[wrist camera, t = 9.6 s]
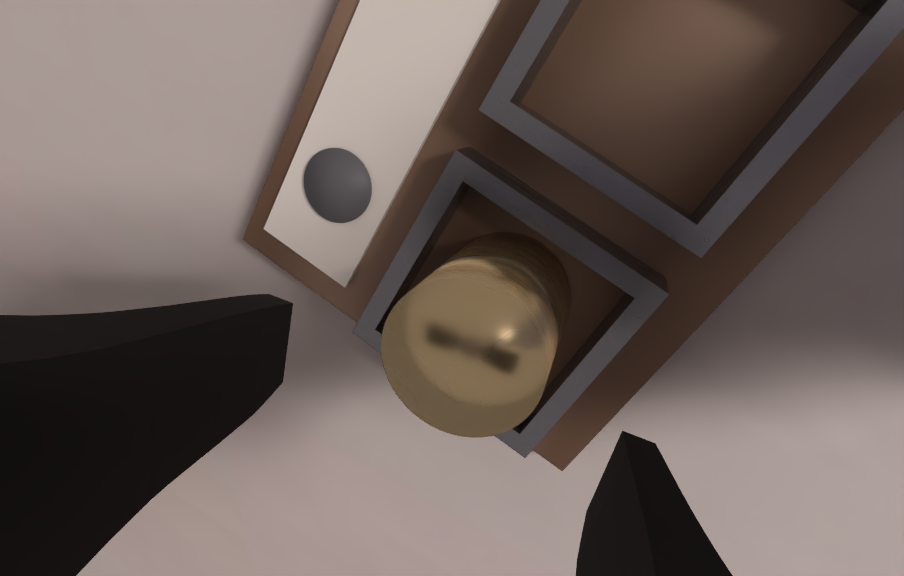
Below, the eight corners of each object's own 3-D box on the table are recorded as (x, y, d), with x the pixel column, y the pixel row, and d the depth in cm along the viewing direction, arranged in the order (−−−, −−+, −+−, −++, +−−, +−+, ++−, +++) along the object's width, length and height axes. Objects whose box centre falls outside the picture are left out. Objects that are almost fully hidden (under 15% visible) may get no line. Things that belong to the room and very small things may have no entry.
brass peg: (589, 255, 16) (570, 314, 11) (548, 369, 17) (517, 462, 13) (462, 215, 16) (398, 255, 12) (434, 326, 18) (368, 400, 13)
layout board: (1388, -439, 9) (1667, -642, 7) (566, 450, 19) (556, 500, 17) (687, -769, 10) (704, -1045, 8) (263, 232, 20) (213, 249, 18)
